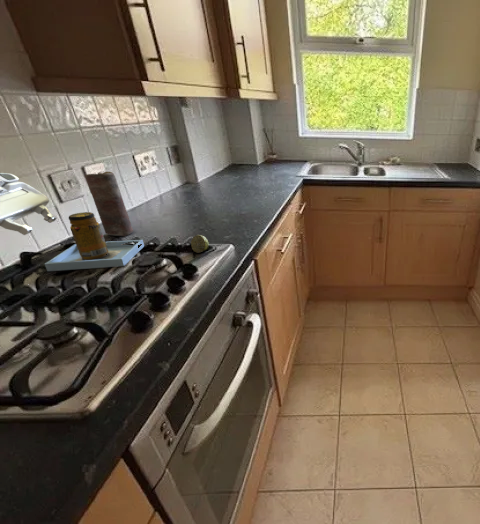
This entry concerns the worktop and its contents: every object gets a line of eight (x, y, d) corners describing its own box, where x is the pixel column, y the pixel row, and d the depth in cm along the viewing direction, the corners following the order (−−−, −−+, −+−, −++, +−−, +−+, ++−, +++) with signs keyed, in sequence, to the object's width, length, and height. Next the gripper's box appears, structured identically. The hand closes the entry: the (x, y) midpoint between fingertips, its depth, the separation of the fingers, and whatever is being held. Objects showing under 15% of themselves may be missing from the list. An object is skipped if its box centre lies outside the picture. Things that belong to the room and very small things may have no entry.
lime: (209, 253, 96) (205, 237, 94) (190, 254, 95) (187, 238, 93) (211, 247, 100) (208, 232, 98) (193, 249, 99) (190, 233, 96)
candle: (102, 239, 104) (80, 174, 96) (108, 231, 110) (88, 170, 102) (131, 236, 107) (112, 173, 99) (135, 229, 113) (118, 169, 105)
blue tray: (47, 271, 84) (44, 263, 83) (78, 250, 96) (75, 243, 95) (124, 266, 87) (121, 258, 86) (144, 246, 100) (142, 239, 99)
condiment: (90, 252, 94) (75, 211, 89) (122, 250, 95) (109, 210, 90) (73, 262, 87) (56, 219, 82) (108, 261, 88) (93, 218, 83)
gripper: (-55, 190, 71) (18, 231, 77) (17, 172, 89) (72, 207, 95) (-69, 210, 72) (4, 249, 78) (5, 189, 90) (60, 222, 96)
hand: (42, 226), depth 87 cm, fingers open, 8 cm apart
